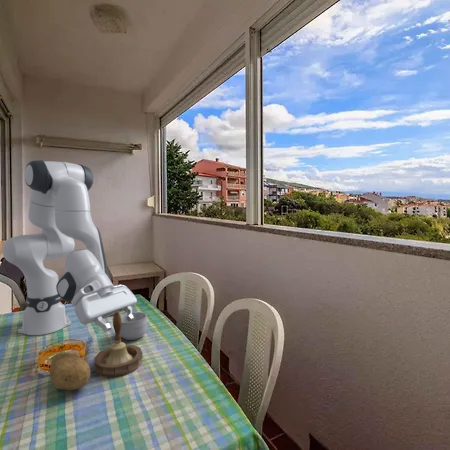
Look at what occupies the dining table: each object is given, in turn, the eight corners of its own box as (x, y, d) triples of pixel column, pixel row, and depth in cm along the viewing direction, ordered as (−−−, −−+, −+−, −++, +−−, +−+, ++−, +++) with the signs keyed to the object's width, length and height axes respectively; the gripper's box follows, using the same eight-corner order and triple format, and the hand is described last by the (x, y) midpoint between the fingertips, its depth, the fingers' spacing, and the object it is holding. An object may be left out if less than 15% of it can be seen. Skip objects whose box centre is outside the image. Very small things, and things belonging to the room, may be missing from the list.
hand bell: (99, 362, 93) (97, 313, 92) (123, 352, 100) (122, 305, 98) (113, 372, 88) (111, 319, 87) (138, 361, 94) (136, 311, 93)
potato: (63, 406, 75) (61, 375, 74) (42, 385, 84) (41, 357, 83) (100, 387, 82) (99, 359, 82) (78, 370, 91) (76, 344, 91)
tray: (93, 359, 98) (93, 350, 97) (138, 349, 104) (137, 341, 103) (95, 382, 85) (95, 371, 85) (145, 369, 91) (145, 360, 91)
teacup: (139, 344, 108) (138, 322, 107) (112, 342, 110) (111, 320, 110) (155, 328, 122) (155, 309, 121) (131, 326, 124) (130, 307, 123)
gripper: (119, 288, 108) (139, 320, 104) (65, 303, 90) (87, 342, 86) (128, 277, 106) (149, 309, 102) (75, 291, 88) (97, 330, 84)
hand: (120, 325), depth 94 cm, fingers open, 8 cm apart
